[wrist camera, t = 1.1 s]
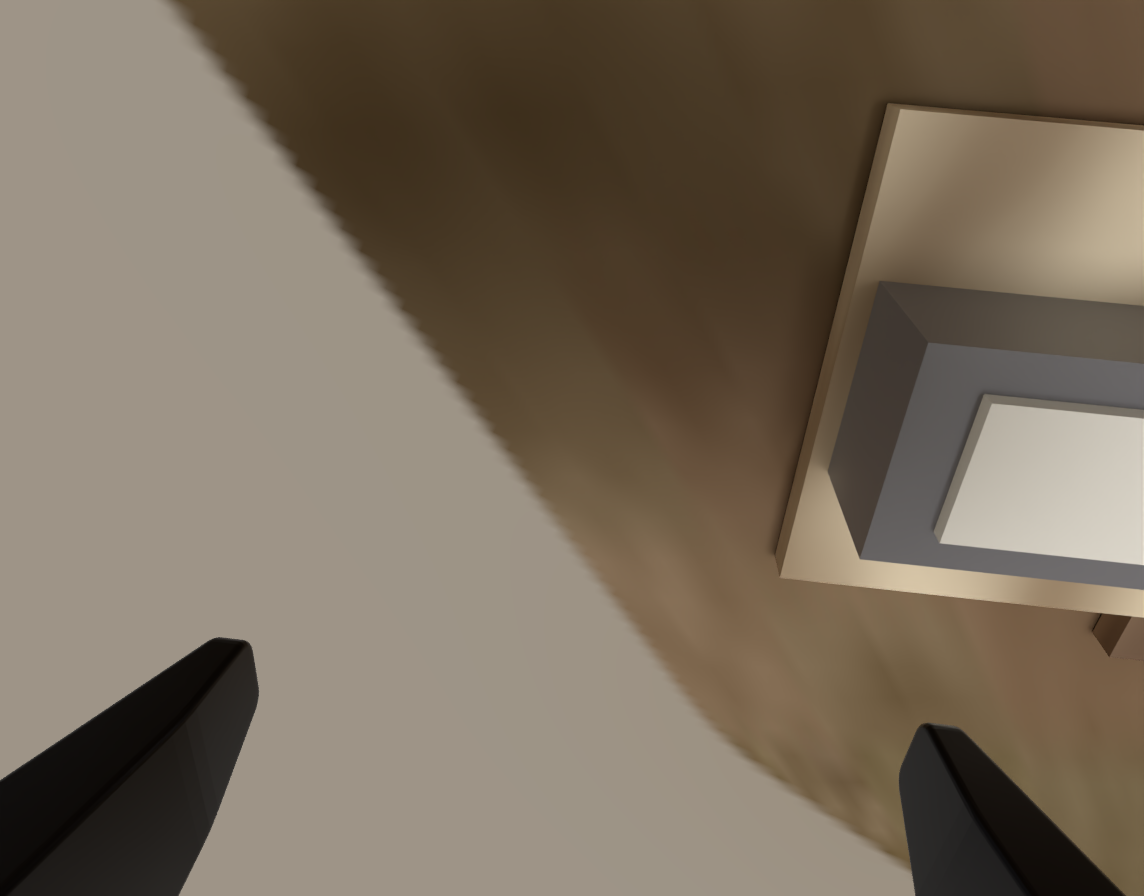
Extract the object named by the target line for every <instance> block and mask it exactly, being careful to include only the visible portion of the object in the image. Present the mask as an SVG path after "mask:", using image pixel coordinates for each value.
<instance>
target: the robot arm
mask: <svg viewBox="0 0 1144 896" xmlns="http://www.w3.org/2000/svg"><path fill="white" fill-rule="evenodd" d="M258 696H259V687H258V681H257V674H256V668H255V662H254V656H253V650H252V647H251V645H250V644H249V643H248V642H247V641H245V640H238V639H230V638H220V637H218V638H214V639H212V640H209V641H207V642H206V643H204V644H203V645H201V646H200V647H199V648H197V649H196V650H194V651H193V652H191V653H190V654H188V655H187V656H185V657H184V658H182V659H181V660H179V661H178V662H176V663H175V664H173V665H172V666H170V667H169V668H167V669H166V670H164V671H163V672H161V673H160V674H158V675H157V676H155V677H154V678H152V679H151V680H149V681H148V682H146V683H145V684H143V685H142V686H141V687H139V688H137V689H136V690H134V691H133V692H131V693H130V694H128V695H127V696H125V697H124V698H122V699H121V700H119V701H118V702H116V703H115V704H113V705H112V706H110V707H109V708H108V709H106V710H104V711H103V712H101V713H100V714H98V715H97V716H95V717H94V718H92V719H91V720H90V721H88V722H86V723H85V724H84V725H82V726H80V727H79V728H78V729H76V730H75V731H73V732H72V733H70V734H68V735H67V736H66V737H64V738H63V739H61V740H60V741H58V742H57V743H55V744H54V745H52V746H51V747H49V748H48V749H46V750H45V751H43V752H42V753H40V754H39V755H37V756H36V757H34V758H33V759H31V760H30V761H28V762H27V763H25V764H24V765H22V766H21V767H19V768H18V769H16V770H15V771H13V772H12V773H10V774H9V775H7V776H6V777H4V778H3V779H1V780H0V896H179V894H180V891H181V889H182V888H183V886H184V883H185V882H186V880H187V878H188V875H189V873H190V871H191V869H192V867H193V865H194V863H195V861H196V859H197V857H198V855H199V853H200V851H201V849H202V847H203V845H204V843H205V840H206V838H207V836H208V834H209V832H210V830H211V827H212V825H213V822H214V819H215V817H216V815H217V812H218V810H219V807H220V804H221V802H222V799H223V796H224V794H225V791H226V788H227V785H228V783H229V780H230V777H231V775H232V772H233V769H234V766H235V764H236V761H237V759H238V756H239V753H240V750H241V748H242V745H243V742H244V740H245V737H246V734H247V731H248V729H249V726H250V723H251V721H252V718H253V715H254V713H255V710H256V707H257V702H258ZM899 791H900V797H901V804H902V811H903V817H904V824H905V830H906V837H907V843H908V850H909V856H910V863H911V870H912V876H913V882H914V889H915V896H1126V895H1125V894H1124V893H1123V892H1122V891H1121V890H1120V889H1119V888H1118V887H1117V886H1116V885H1115V884H1114V883H1113V882H1112V881H1111V880H1110V879H1109V878H1108V877H1107V876H1106V875H1105V874H1104V873H1103V872H1102V871H1101V870H1100V869H1099V868H1098V867H1097V866H1096V865H1095V864H1094V863H1093V862H1092V861H1091V860H1090V859H1089V858H1088V857H1087V856H1086V855H1085V854H1084V853H1083V852H1082V851H1081V850H1080V849H1079V848H1078V847H1077V846H1076V845H1075V844H1074V843H1073V842H1072V841H1071V840H1070V839H1069V838H1068V837H1067V836H1066V835H1065V833H1064V832H1063V831H1062V830H1061V829H1060V828H1059V827H1058V826H1057V825H1056V824H1055V823H1054V822H1053V821H1052V820H1051V819H1050V818H1049V817H1048V816H1047V815H1046V814H1045V813H1044V812H1043V811H1042V810H1041V809H1040V808H1039V807H1038V806H1037V805H1036V804H1035V803H1034V802H1033V801H1032V800H1031V799H1030V798H1029V797H1028V796H1027V795H1026V794H1025V793H1024V792H1023V791H1022V790H1021V789H1020V788H1019V787H1018V786H1017V785H1016V784H1015V783H1014V782H1013V781H1012V780H1011V779H1010V778H1009V777H1008V776H1007V775H1006V774H1005V773H1004V772H1003V771H1002V770H1001V769H1000V768H999V767H998V765H997V764H996V763H995V762H994V761H993V760H992V759H991V758H990V757H989V756H988V755H987V754H986V753H985V752H984V751H983V750H982V749H981V748H980V747H979V746H978V745H977V744H976V743H975V742H974V741H973V740H972V739H971V738H970V737H969V736H968V735H967V734H966V733H965V732H964V731H963V730H961V729H960V728H958V727H956V726H951V725H943V724H935V723H923V724H921V725H920V726H919V727H918V729H917V731H916V733H915V735H914V737H913V740H912V742H911V744H910V747H909V749H908V751H907V754H906V756H905V758H904V761H903V763H902V765H901V768H900V773H899Z"/></svg>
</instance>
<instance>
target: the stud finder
mask: <svg viewBox="0 0 1144 896" xmlns="http://www.w3.org/2000/svg"><path fill="white" fill-rule="evenodd" d="M828 475H829V477H830V480H831V483H832V485H833V488H834V491H835V494H836V496H837V499H838V502H839V504H840V507H841V510H842V513H843V515H844V518H845V521H846V523H847V526H848V529H849V532H850V534H851V537H852V540H853V542H854V545H855V548H856V551H857V553H858V556H859V559H861V560H871V561H880V562H889V563H898V564H908V565H917V566H926V567H935V568H945V569H954V570H963V571H972V572H982V573H991V574H1000V575H1009V576H1018V577H1028V578H1037V579H1046V580H1055V581H1065V582H1074V583H1083V584H1092V585H1102V586H1111V587H1120V588H1129V589H1139V590H1144V306H1139V305H1129V304H1118V303H1108V302H1097V301H1087V300H1076V299H1066V298H1056V297H1045V296H1035V295H1024V294H1014V293H1003V292H993V291H982V290H972V289H962V288H951V287H941V286H930V285H920V284H909V283H899V282H888V281H879V285H878V288H877V292H876V296H875V299H874V303H873V307H872V310H871V314H870V318H869V321H868V325H867V329H866V332H865V336H864V340H863V343H862V347H861V351H860V354H859V358H858V362H857V365H856V369H855V373H854V376H853V380H852V384H851V387H850V391H849V395H848V398H847V402H846V406H845V409H844V413H843V417H842V420H841V424H840V428H839V431H838V435H837V439H836V442H835V446H834V450H833V453H832V457H831V461H830V464H829V468H828Z"/></svg>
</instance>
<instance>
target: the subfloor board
mask: <svg viewBox="0 0 1144 896" xmlns="http://www.w3.org/2000/svg"><path fill="white" fill-rule="evenodd" d="M879 281H888V282H899V283H909V284H920V285H930V286H941V287H951V288H962V289H972V290H982V291H993V292H1003V293H1014V294H1024V295H1035V296H1045V297H1056V298H1066V299H1076V300H1087V301H1097V302H1108V303H1118V304H1129V305H1139V306H1144V125H1132V124H1121V123H1110V122H1098V121H1087V120H1075V119H1064V118H1053V117H1041V116H1030V115H1018V114H1007V113H996V112H984V111H973V110H961V109H950V108H939V107H927V106H916V105H905V104H893V103H888V104H887V108H886V112H885V116H884V120H883V124H882V128H881V132H880V136H879V140H878V144H877V148H876V152H875V156H874V160H873V164H872V168H871V172H870V176H869V180H868V184H867V188H866V192H865V196H864V200H863V204H862V208H861V212H860V216H859V220H858V224H857V228H856V232H855V236H854V240H853V244H852V248H851V252H850V256H849V260H848V264H847V268H846V272H845V276H844V280H843V284H842V288H841V292H840V296H839V300H838V304H837V308H836V312H835V316H834V320H833V325H832V329H831V333H830V337H829V341H828V345H827V349H826V353H825V357H824V361H823V365H822V369H821V373H820V377H819V381H818V385H817V389H816V393H815V397H814V401H813V405H812V409H811V413H810V417H809V421H808V425H807V429H806V433H805V437H804V441H803V445H802V449H801V453H800V457H799V461H798V465H797V469H796V473H795V477H794V481H793V485H792V489H791V493H790V497H789V501H788V505H787V509H786V513H785V517H784V521H783V525H782V529H781V533H780V537H779V541H778V545H777V549H776V553H775V558H776V563H777V568H778V572H779V577H780V578H786V579H795V580H804V581H813V582H822V583H831V584H840V585H850V586H859V587H868V588H877V589H886V590H895V591H904V592H914V593H923V594H932V595H941V596H950V597H959V598H968V599H978V600H987V601H996V602H1005V603H1014V604H1023V605H1032V606H1041V607H1051V608H1060V609H1069V610H1078V611H1087V612H1096V613H1102V615H1101V617H1100V619H1099V621H1098V623H1097V624H1096V626H1095V628H1094V630H1093V634H1094V635H1095V637H1096V638H1097V640H1098V641H1099V643H1100V644H1101V646H1102V647H1103V648H1104V650H1105V651H1106V653H1107V654H1108V656H1109V657H1114V658H1123V659H1132V660H1141V661H1144V590H1139V589H1129V588H1120V587H1111V586H1102V585H1092V584H1083V583H1074V582H1065V581H1055V580H1046V579H1037V578H1028V577H1018V576H1009V575H1000V574H991V573H982V572H972V571H963V570H954V569H945V568H935V567H926V566H917V565H908V564H898V563H889V562H880V561H871V560H861V559H859V556H858V553H857V551H856V548H855V545H854V542H853V540H852V537H851V534H850V532H849V529H848V526H847V523H846V521H845V518H844V515H843V513H842V510H841V507H840V504H839V502H838V499H837V496H836V494H835V491H834V488H833V485H832V483H831V480H830V477H829V475H828V468H829V464H830V461H831V457H832V453H833V450H834V446H835V442H836V439H837V435H838V431H839V428H840V424H841V420H842V417H843V413H844V409H845V406H846V402H847V398H848V395H849V391H850V387H851V384H852V380H853V376H854V373H855V369H856V365H857V362H858V358H859V354H860V351H861V347H862V343H863V340H864V336H865V332H866V329H867V325H868V321H869V318H870V314H871V310H872V307H873V303H874V299H875V296H876V292H877V288H878V285H879Z"/></svg>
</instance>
